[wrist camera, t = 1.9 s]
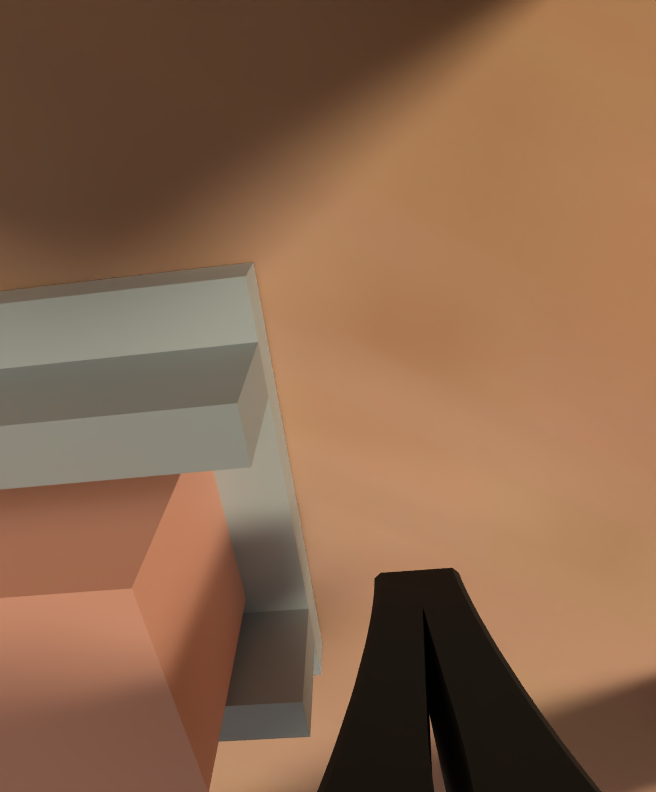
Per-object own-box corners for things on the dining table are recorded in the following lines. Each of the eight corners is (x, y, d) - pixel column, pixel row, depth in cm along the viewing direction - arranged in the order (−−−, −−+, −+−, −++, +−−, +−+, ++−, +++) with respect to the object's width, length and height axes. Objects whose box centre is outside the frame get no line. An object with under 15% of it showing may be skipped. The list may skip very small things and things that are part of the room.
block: (245, 598, 14) (208, 793, 10) (15, 614, 15) (-107, 807, 11) (201, 424, 12) (131, 588, 8) (-70, 450, 12) (-263, 617, 8)
